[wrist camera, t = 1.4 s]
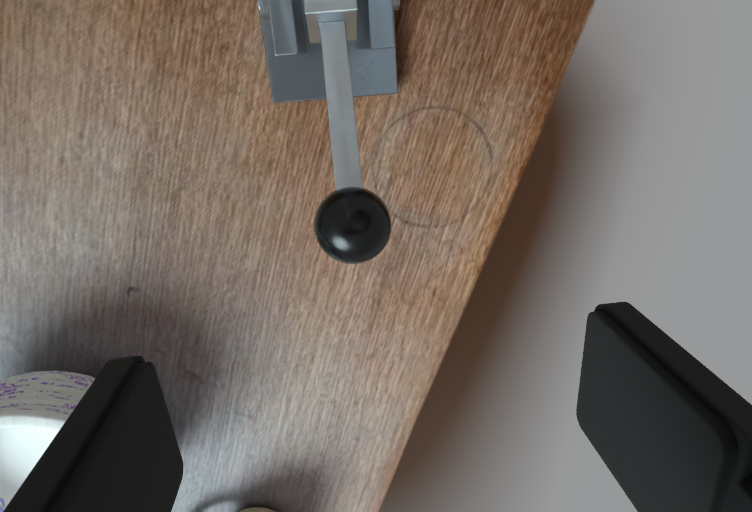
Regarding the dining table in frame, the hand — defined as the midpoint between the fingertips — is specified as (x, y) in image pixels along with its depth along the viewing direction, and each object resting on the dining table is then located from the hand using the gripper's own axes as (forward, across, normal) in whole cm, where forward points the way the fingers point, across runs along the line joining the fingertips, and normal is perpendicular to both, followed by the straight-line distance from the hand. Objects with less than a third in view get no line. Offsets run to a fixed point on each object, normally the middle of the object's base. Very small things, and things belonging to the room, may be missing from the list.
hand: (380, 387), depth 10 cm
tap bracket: (+25, 0, -9) cm, 27 cm away
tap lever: (+14, 0, -4) cm, 15 cm away
